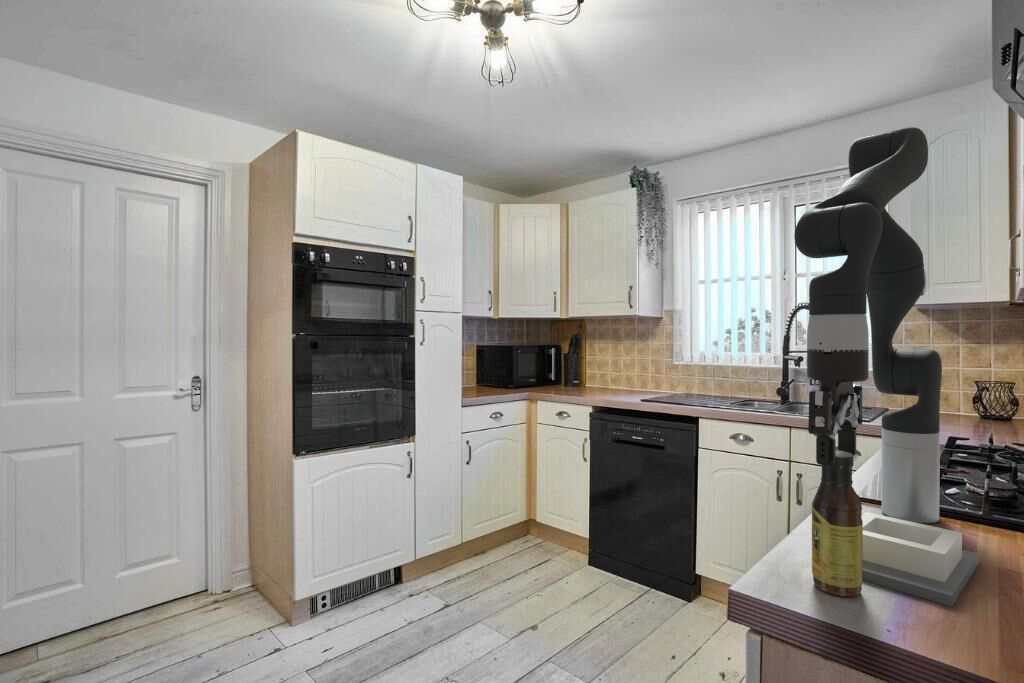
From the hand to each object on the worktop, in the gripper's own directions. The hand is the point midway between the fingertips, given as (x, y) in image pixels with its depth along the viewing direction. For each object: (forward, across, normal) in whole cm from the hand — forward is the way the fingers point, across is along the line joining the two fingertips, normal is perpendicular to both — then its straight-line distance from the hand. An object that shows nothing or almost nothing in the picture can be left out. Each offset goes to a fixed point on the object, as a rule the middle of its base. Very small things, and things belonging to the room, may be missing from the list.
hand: (836, 460), depth 76 cm
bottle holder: (+19, -16, +4) cm, 25 cm away
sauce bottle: (+19, 0, 0) cm, 19 cm away
